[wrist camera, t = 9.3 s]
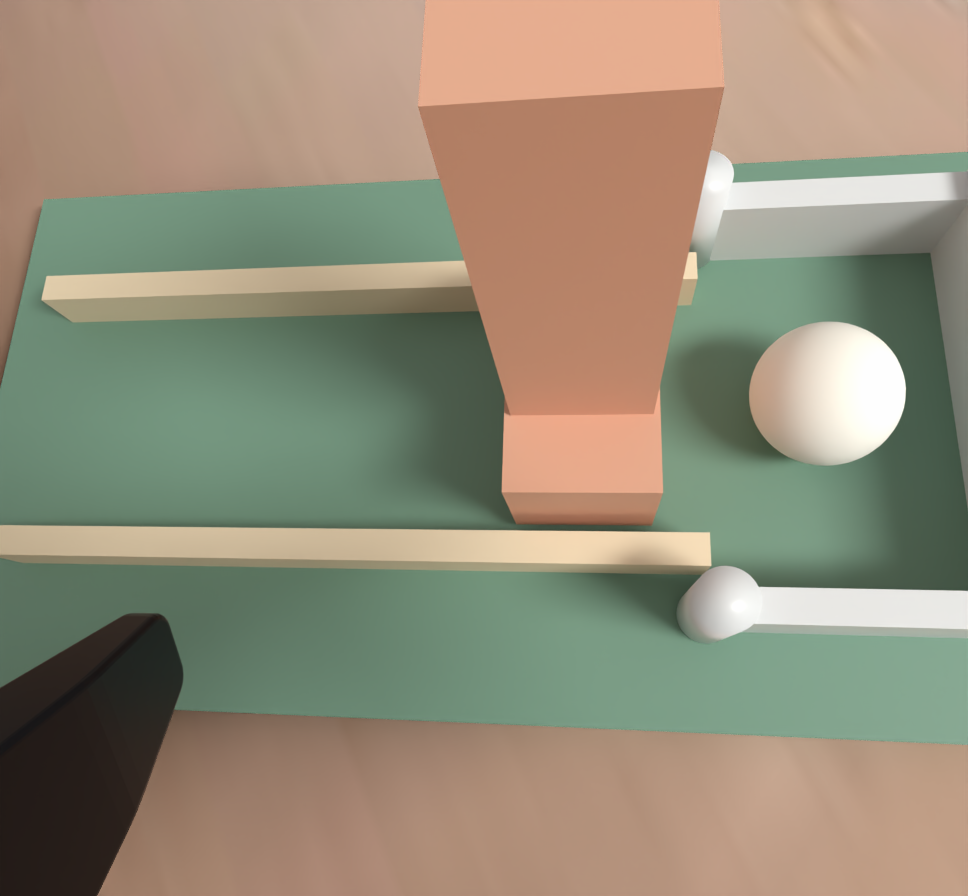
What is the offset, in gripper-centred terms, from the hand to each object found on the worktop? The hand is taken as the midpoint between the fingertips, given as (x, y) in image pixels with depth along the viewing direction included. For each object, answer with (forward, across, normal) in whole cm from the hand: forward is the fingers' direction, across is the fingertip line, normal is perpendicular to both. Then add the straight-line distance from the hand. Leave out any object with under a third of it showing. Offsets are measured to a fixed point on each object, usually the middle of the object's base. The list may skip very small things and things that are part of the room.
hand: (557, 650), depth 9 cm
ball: (+12, -6, +2) cm, 13 cm away
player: (+13, 0, +3) cm, 13 cm away
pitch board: (+14, +3, +4) cm, 15 cm away
